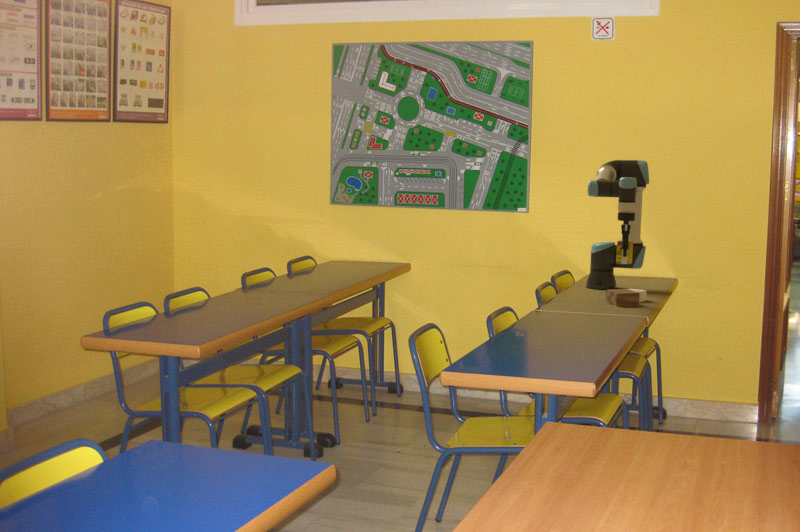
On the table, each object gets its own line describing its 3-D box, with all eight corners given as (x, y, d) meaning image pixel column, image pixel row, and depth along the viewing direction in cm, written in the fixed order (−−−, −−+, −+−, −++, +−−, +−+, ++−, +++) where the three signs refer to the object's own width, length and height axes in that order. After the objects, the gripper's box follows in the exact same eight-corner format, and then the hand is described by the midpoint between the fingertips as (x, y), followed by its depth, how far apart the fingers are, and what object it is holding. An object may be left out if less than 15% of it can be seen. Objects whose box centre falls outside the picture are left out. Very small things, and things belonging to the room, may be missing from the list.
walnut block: (605, 302, 397) (605, 289, 396) (627, 302, 399) (627, 289, 398) (616, 306, 386) (616, 293, 385) (638, 306, 388) (639, 293, 388)
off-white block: (623, 300, 402) (623, 290, 401) (629, 298, 408) (630, 288, 408) (639, 302, 397) (640, 292, 397) (646, 300, 404) (646, 290, 403)
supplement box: (615, 265, 389) (616, 241, 388) (618, 263, 394) (620, 240, 393) (629, 266, 386) (630, 241, 385) (632, 264, 392) (633, 240, 390)
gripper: (635, 213, 377) (633, 265, 380) (634, 210, 396) (632, 260, 399) (618, 213, 379) (615, 265, 382) (617, 210, 398) (615, 259, 401)
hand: (624, 262), depth 390 cm, fingers closed on supplement box, 7 cm apart
